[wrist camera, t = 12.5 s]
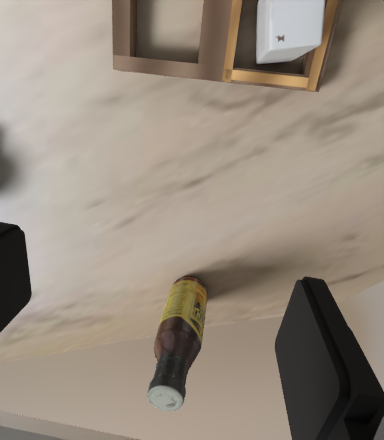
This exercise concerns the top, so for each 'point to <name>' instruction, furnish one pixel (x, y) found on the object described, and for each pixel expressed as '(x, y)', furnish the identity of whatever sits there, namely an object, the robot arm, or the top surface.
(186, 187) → the top surface
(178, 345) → the sauce bottle
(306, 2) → the skincare box
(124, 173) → the top surface
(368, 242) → the top surface
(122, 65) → the wooden flat frame
